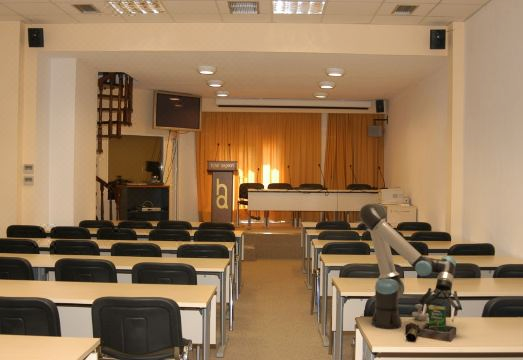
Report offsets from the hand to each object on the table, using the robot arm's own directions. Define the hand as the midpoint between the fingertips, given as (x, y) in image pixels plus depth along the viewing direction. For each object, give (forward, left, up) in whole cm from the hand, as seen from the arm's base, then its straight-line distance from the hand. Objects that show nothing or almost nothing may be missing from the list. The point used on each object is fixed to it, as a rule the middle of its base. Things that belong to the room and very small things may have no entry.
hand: (437, 318), depth 242 cm
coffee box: (0, +2, -8) cm, 8 cm away
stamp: (-15, +28, -9) cm, 33 cm away
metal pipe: (-10, -8, -9) cm, 16 cm away
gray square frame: (0, +2, -9) cm, 9 cm away
